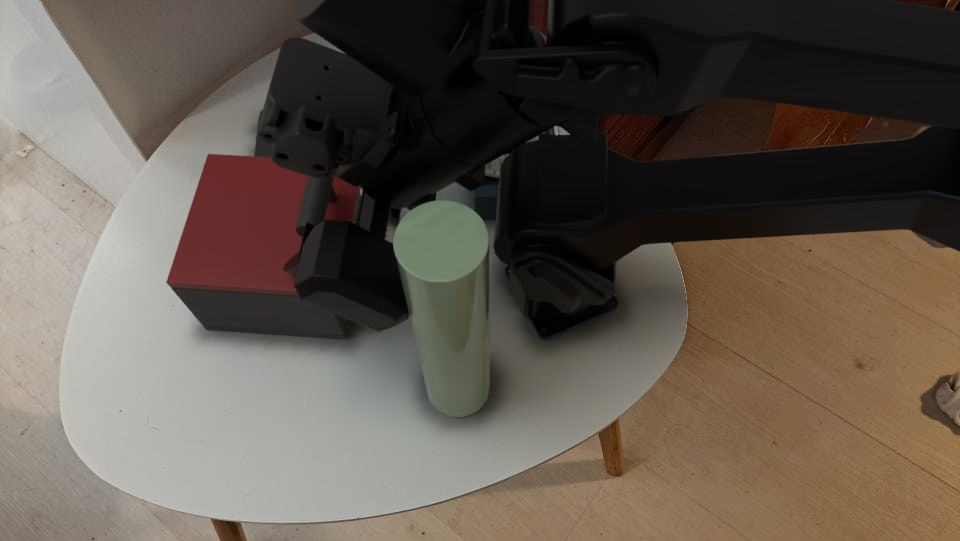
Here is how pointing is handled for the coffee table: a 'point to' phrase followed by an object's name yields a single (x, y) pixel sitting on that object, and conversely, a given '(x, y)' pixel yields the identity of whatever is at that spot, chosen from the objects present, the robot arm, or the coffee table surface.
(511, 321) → the coffee table surface
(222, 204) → the storage box lid
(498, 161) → the watch
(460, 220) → the pale green cylinder
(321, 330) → the lidded storage box
